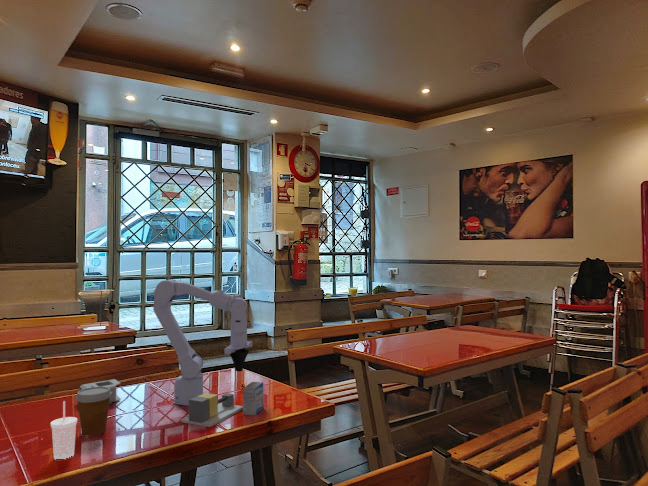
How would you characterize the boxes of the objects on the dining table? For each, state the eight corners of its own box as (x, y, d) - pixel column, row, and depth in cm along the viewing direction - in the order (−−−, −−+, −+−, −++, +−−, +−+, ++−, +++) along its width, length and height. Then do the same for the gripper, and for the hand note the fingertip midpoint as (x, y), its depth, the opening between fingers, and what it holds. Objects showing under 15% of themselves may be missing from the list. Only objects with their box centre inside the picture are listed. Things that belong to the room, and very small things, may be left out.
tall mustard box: (196, 415, 147) (196, 396, 148) (204, 411, 151) (204, 393, 151) (209, 418, 145) (209, 398, 146) (217, 413, 149) (217, 394, 149)
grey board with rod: (181, 422, 145) (181, 398, 145) (216, 404, 162) (216, 383, 162) (210, 427, 141) (210, 402, 141) (243, 408, 157) (243, 387, 157)
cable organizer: (85, 390, 158) (123, 384, 166) (76, 382, 167) (112, 377, 175) (85, 410, 158) (122, 403, 165) (76, 401, 167) (112, 395, 175)
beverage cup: (44, 459, 120) (44, 403, 120) (65, 449, 125) (65, 396, 126) (62, 462, 117) (62, 406, 118) (82, 453, 123) (82, 399, 123)
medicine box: (255, 415, 150) (255, 388, 150) (242, 415, 151) (242, 387, 151) (263, 408, 158) (263, 382, 158) (251, 407, 159) (251, 381, 159)
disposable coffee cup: (87, 440, 131) (87, 397, 132) (68, 434, 136) (68, 392, 137) (118, 429, 139) (118, 388, 140) (99, 423, 144) (99, 384, 145)
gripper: (236, 336, 159) (236, 376, 158) (259, 329, 172) (259, 367, 172) (219, 335, 161) (219, 374, 161) (242, 328, 175) (243, 365, 174)
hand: (239, 370), depth 166 cm, fingers closed
